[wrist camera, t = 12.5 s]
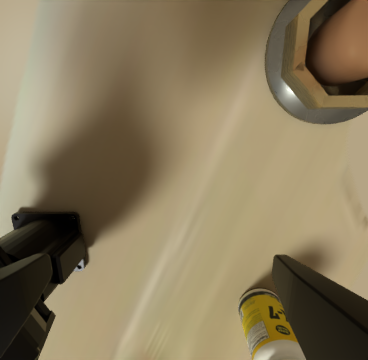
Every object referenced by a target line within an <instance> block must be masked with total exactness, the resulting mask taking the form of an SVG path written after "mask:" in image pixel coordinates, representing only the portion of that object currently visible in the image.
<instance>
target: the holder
mask: <svg viewBox="0 0 368 360" xmlns="http://www.w3.org/2000/svg"><path fill="white" fill-rule="evenodd" d="M350 1H351V0H289V1H288V3H287V4H286V5H285V6H284V8H283V9H282V11H281V12H280V14H279V15H278V17H277V19H276V21H275V22H274V24H273V26H272V29H271V32H270V34H269V38H268V41H267V45H266V52H265V72H266V78H267V82H268V85H269V88H270V90H271V93H272V94H273V96H274V98H275V100H276V101H277V102H278V104H279V105H280V106H281V107H282V108H283V109H284V110H285V111H286V112H287V113H289V114H290V115H291V116H293V117H295V118H297V119H299V120H302V121H304V122H308V123H313V124H334V123H339V122H344V121H347V120H350V119H353V118H355V117H357V116H359V115H361V114H363V113H364V112H366V111H368V78H364V79H360V80H357V81H353V82H350V83H346V84H343V85H339V86H324V85H321V84H319V83H318V82H317V81H316V79H315V78H314V77H313V76H312V74H311V73H310V72H309V71H308V69H307V68H306V65H305V57H306V49H307V43H308V40H309V38H310V37H311V35H312V33H313V32H314V31H315V29H316V28H317V27H318V26H319V25H321V24H322V23H323V22H324V21H326V20H327V19H328V18H329V17H331V16H332V15H333V14H335V13H336V12H337V11H338V10H340V9H341V8H342V7H344V6H345V5H346V4H347V3H349V2H350Z"/></svg>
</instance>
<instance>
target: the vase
mask: <svg viewBox="0 0 368 360" xmlns="http://www.w3.org/2000/svg"><path fill="white" fill-rule="evenodd" d="M305 65H306V68H307V69H308V71H309V72H310V73H311V74H312V76H313V77H314V78H315V79H316V81H317V82H318V83H319V84H321V85H324V86H339V85H343V84H346V83H350V82H353V81H357V80H360V79H364V78H368V0H351V1H350V2H349V3H347V4H346V5H345V6H344V7H342V8H341V9H340V10H338V11H337V12H336V13H335V14H333V15H332V16H331V17H329V18H328V19H327V20H326V21H324V22H323V23H322V24H321V25H319V26H318V27H317V28H316V29H315V31H314V32H313V33H312V35H311V37H310V38H309V40H308V43H307V49H306V57H305Z"/></svg>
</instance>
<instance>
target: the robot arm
mask: <svg viewBox="0 0 368 360" xmlns="http://www.w3.org/2000/svg"><path fill="white" fill-rule="evenodd" d="M17 216H18V217H19V218H18V217H17ZM72 216H73V217H74V218H75V219H73V218H72ZM12 223H13V227H14V230H13V231H11V232H10V233H8V234H6V235H5V236H3V237H1V238H0V360H38V358H39V356H40V353H41V351H42V348H43V346H44V343H45V341H46V338H47V336H48V333H49V331H50V329H51V326H52V324H53V321H54V319H55V316H56V315H55V314H54V313H53V312H52V310H51V311H50V310H49V309H48V308H47V306H46V305H45V304H44V301H45V300H46V299H47V298H48V296H49V295H50V294H51V293H52V292H53V290H54V289H55V288H56V287H57V285H58V284H63V283H64V282H65V281H66V279H67V278H68V277H69V276H70V274H71V273H72V272H73V271H82V270H83V269H84V268H85V267H86V262H85V255H86V253H85V246H84V239H83V234H82V232H81V227H80V220H79V215H78V214H77V213H76V212H17V213H15V214H13V215H12ZM79 265H81V266H82V267H81V266H79ZM272 278H273V281H274V284H275V287H276V290H277V292H278V295H279V298H280V301H281V304H282V306H283V309H284V312H285V315H286V317H287V320H288V322H289V324H290V326H291V328H292V331H293V333H294V335H295V337H296V339H297V341H298V343H299V345H300V348H301V350H302V352H303V354H304V356H305V358H306V360H368V300H366V299H364V298H362V297H361V296H359V295H357V294H355V293H353V292H352V291H350V290H348V289H346V288H345V287H343V286H341V285H339V284H337V283H336V282H334V281H332V280H330V279H328V278H327V277H325V276H323V275H321V274H319V273H318V272H316V271H314V270H312V269H310V268H309V267H307V266H305V265H303V264H301V263H300V262H298V261H296V260H294V259H292V258H291V257H289V256H287V255H275V256H274V259H273V268H272Z"/></svg>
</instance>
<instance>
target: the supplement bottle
mask: <svg viewBox="0 0 368 360" xmlns="http://www.w3.org/2000/svg"><path fill="white" fill-rule="evenodd" d="M238 311H239V315H240V318H241V322H242V326H243V329H244V333H245V337H246V340H247V344H248V347H249V351H250V355H251V358H252V360H306V358H305V356H304V354H303V352H302V350H301V348H300V345H299V343H298V341H297V339H296V337H295V335H294V333H293V331H292V328H291V326H290V324H289V322H288V320H287V317H286V315H285V312H284V309H283V306H282V304H281V301H280V299H279V297H278V296H277V295H276V294H275V293H273V292H272V291H270V290H267V289H253V290H251V291H249V292H247V293H246V294H244V295H243V296H242V298H241V299H240V301H239V304H238Z"/></svg>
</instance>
